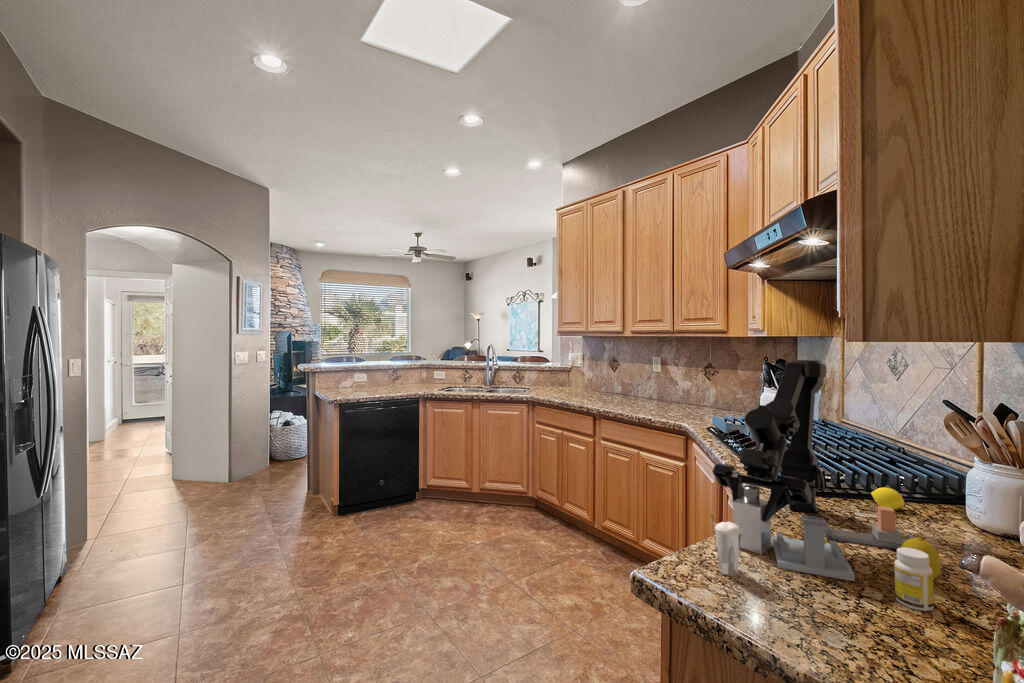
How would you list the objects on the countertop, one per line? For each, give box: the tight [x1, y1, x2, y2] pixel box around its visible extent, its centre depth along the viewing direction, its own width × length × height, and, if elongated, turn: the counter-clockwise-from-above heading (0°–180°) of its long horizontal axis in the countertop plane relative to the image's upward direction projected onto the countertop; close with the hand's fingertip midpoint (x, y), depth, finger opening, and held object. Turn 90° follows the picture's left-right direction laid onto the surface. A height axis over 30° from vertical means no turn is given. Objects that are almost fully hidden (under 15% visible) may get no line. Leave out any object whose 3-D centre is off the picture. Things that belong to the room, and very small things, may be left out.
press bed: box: [771, 514, 856, 582], centre depth 90 cm, size 13×12×10 cm
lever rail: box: [824, 523, 916, 550], centre depth 98 cm, size 4×16×2 cm, turn 64°
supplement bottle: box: [893, 547, 935, 612], centre depth 74 cm, size 5×5×8 cm
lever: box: [871, 505, 903, 544], centre depth 96 cm, size 4×4×6 cm
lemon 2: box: [901, 536, 942, 580], centre depth 81 cm, size 6×6×8 cm
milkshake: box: [710, 514, 741, 577], centre depth 86 cm, size 4×5×10 cm
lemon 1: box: [870, 486, 905, 511], centre depth 118 cm, size 7×5×5 cm
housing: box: [732, 484, 772, 556], centre depth 96 cm, size 6×6×12 cm
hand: (749, 516), depth 95 cm, fingers closed on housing, 5 cm apart
